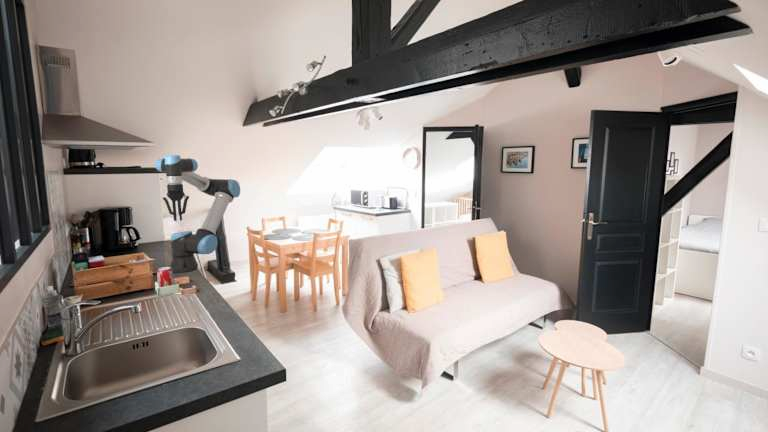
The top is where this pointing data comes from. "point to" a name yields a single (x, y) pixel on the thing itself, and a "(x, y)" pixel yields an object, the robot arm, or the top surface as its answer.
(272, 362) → the top surface
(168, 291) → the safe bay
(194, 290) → the trap near
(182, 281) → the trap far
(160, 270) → the soda can
